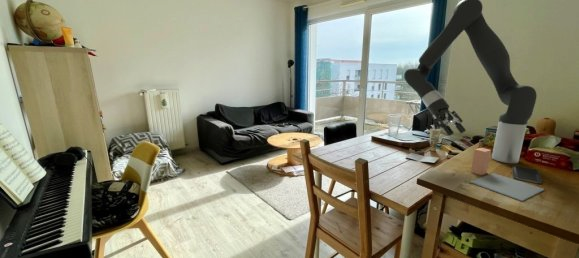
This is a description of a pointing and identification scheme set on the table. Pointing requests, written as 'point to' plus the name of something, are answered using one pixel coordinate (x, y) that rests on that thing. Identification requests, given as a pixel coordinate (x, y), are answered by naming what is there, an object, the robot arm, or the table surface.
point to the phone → (526, 174)
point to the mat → (507, 186)
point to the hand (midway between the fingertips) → (457, 133)
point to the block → (480, 161)
